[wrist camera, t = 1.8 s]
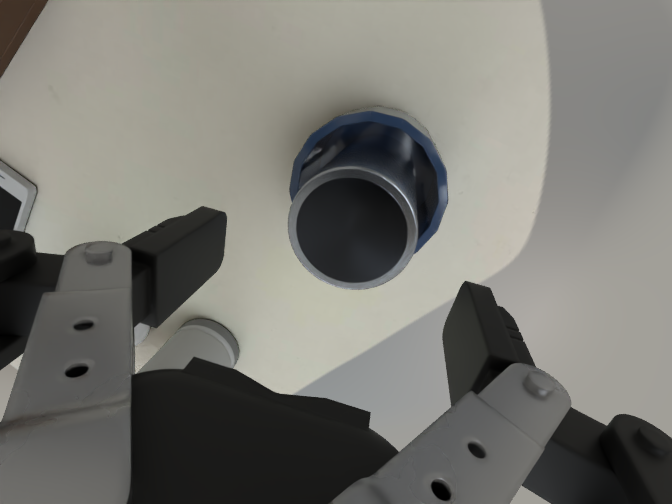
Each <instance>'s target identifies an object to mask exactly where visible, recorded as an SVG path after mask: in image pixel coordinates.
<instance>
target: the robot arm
mask: <svg viewBox="0 0 672 504" xmlns="http://www.w3.org/2000/svg"><path fill="white" fill-rule="evenodd" d="M226 225H227V216H226V213H225V212H222V211H218V210H215V209H211V208H208V207H204V206H202V207H200V208H198V209H196V210H194V211H193V212H191V213H189V214H187V215H185V216H184V215H183V216H179V217H174V218H170V219H167V220H165V221H163V222H162V223H160V224H158V225H157V226H154V227H152V228H150V229H148V231H145V232H143V233H141V234H139V235H137V236H135V237H133V238H132V239H130V240H128V241H126V242H124V243H122V244H119V243H116V242H108V241H95V242H88V243H83V244H79V245H77V246H74V247H72V248H71V249H69V250H68V251H67V252H66V254H65V255H57V254H47V253H38V252H36V249H35V243H34V238H33V237H32V236H31V235H30V234H28V233H25V232H22V231H17V230H0V370H1V369H3V368H4V367H5V366H7V365H8V364H9V363H11V362H12V361H13V360H15V359H16V358H17V357H19V356H20V355H21V354H23V353H24V354H23V357H22V360H21V363H20V366H19V369H18V373H17V376H16V379H15V382H14V385H13V388H12V391H11V394H10V398H9V401H8V404H7V407H6V410H5V413H4V416H3V419H2V421H1V422H0V504H510V502H511V500H512V499H513V497H514V496H515V494H516V493H517V491H518V490H519V488H520V486H521V485H522V486H524V487H525V488H527V489H528V490H530V491H532V492H533V493H535V494H536V495H538V496H540V497H541V498H543V499H545V500H546V501H548V502H549V503H551V504H672V438H670V437H669V436H668V435H667V434H665V433H664V432H663V431H661V430H660V429H658V428H656V427H655V426H654V425H652V424H650V423H648V422H646V421H644V420H642V419H640V418H637V417H635V416H631V415H627V414H619V415H616V416H615V417H614V418H613V419H612V421H611V422H610V423H609V424H608V425H607V426H606V425H604V424H602V423H600V422H598V421H596V420H594V419H592V418H590V417H588V416H587V415H585V414H582V413H581V412H578V411H577V410H575V409H573V408H572V407H571V399H570V396H569V394H568V393H567V391H566V390H565V388H564V387H563V386H562V385H561V384H560V383H559V382H558V381H557V380H556V379H554V378H553V377H552V376H550V375H549V374H547V373H546V372H544V371H542V370H541V369H539V368H536V366H535V364H534V362H533V359H532V357H531V355H530V353H529V351H528V348H527V346H526V344H525V342H523V337H522V335H521V333H520V332H519V329H518V327H517V324H516V322H515V320H514V318H513V317H512V316H511V315H510V314H509V313H508V312H507V311H506V310H505V309H504V308H503V307H500V306H497V304H496V301H495V298H494V296H493V293H492V291H491V289H490V288H489V287H485V286H482V285H478V284H475V283H471V282H468V281H465V282H464V283H463V284H462V286H461V288H460V290H459V292H458V294H457V297H456V299H455V301H454V303H453V306H452V308H451V311H450V313H449V315H448V317H447V320H446V322H445V325H444V329H443V347H444V354H445V362H446V369H447V377H448V384H449V393H450V400H451V408H450V409H449V410H447V411H446V412H445V413H444V414H443V415H441V416H440V417H439V418H438V419H437V420H436V421H435V422H433V423H432V424H431V425H430V426H429V427H428V428H427V429H425V430H424V431H423V432H422V433H421V434H420V435H418V436H417V437H416V438H415V439H414V440H413V441H412V442H410V443H409V444H408V445H407V446H406V447H405V448H403V449H402V450H401V451H400V452H398V451H397V450H396V448H395V447H393V446H392V445H391V444H390V443H389V442H388V441H387V440H386V439H384V438H383V437H382V436H380V435H379V434H378V433H376V432H375V431H373V430H371V429H370V428H369V421H370V412H368V411H365V410H361V409H358V408H355V407H352V406H349V405H346V404H343V403H339V402H336V401H333V400H330V399H327V398H318V397H307V396H298V395H287V394H279V393H275V392H273V391H271V390H270V389H268V388H266V387H264V386H263V385H261V384H259V383H258V382H256V381H254V380H253V379H251V378H249V377H247V376H246V375H244V374H242V373H241V372H239V371H237V370H235V369H232V368H229V367H226V366H223V365H219V364H216V363H213V362H210V361H207V360H204V359H200V358H197V357H193V358H192V359H191V361H190V362H189V363H188V364H187V365H186V367H185V368H184V369H158V370H151V371H145V372H141V373H137V374H135V334H134V327H136V326H137V325H138V324H139V323H142V324H145V325H148V326H151V327H155V328H157V327H158V326H159V325H161V324H162V323H163V322H164V321H165V320H166V319H167V318H168V317H169V316H170V315H171V314H172V313H173V312H174V311H175V310H176V309H178V308H179V307H180V306H181V305H182V304H183V303H184V302H185V301H186V300H187V299H188V298H189V297H190V296H191V295H192V294H193V293H195V292H196V291H197V290H198V289H199V288H200V287H201V286H202V285H203V284H204V283H205V282H206V281H207V280H208V279H209V278H210V277H212V276H213V275H214V274H215V273H216V272H217V271H218V269H219V268H220V266H221V263H222V261H223V257H224V248H225V236H226Z"/></svg>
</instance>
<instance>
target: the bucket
mask: <svg viewBox="0 0 672 504" xmlns="http://www.w3.org/2000/svg"><path fill="white" fill-rule="evenodd" d="M374 133H375V134H384V135H388V136H391V137H393V138H395V139H396V140H398V141H399V142H401V143H402V144H403V145H404V146H405V147H406V148H407V150H408V151H409V153H410V154H411V157H412V159H413V162H414V167H415V179H416V198H417V217H418V239H417V244H416V248H415V251H414V253H413V254H415V253H416V252H418V251H419V250H420V249H421V247H422V246H423V245H424V244H425V243H426V242H427V241H428V240H429V239H430V238H431V237H432V236H433V235H434V234H435V233H436V232H437V230H438V228H439V225H440V222H441V220H442V217H443V214H444V212H445V209H446V206H447V204H448V188H447V171H446V168H445V165H444V163H443V161H442V158H441V156H440V154H439V152H438V150H437V148H436V146H435V144H434V142H433V140H432V138H431V136H430V134H429V132H428V130H427V129H426V128H425V127H424V126H422V125H421V124H420V123H419V122H418V121H417V120H416V119H414V118H413V117H411V116H410V115H409V114H407V113H405V112H403V111H400V110H397V109H393V108H388V107H383V106H373V107H366V108H362V109H357V110H352V111H350V112H347V113H345V114H342V115H340V116H338V117H336V118H334V119H333V120H331V121H330V122H328V123H327V124H325V125H324V126H322V127H321V128H319V129H318V130H316V131H315V132H313V133H312V134H311V135H310V136H309V138H308V139H307V141H306V143H305V144H304V146H303V147H302V149H301V151H300V152H299V154H298V155H297V157H296V158H295V161H294V164H293V170H292V176H291V182H290V188H289V190H290V191H289V192H290V196H291V200H292V202H293V200H294V198H295V196H296V194H297V193H298V191H299V190H300V189H301V188H302V186H303V185H304V184H305V183H306V182H308V181H309V180H310V179H311V178H312V177H313V176H314V175H315V174H316V173H317V172H318V171H320V170H321V169H322V168H323V167H324V166H325V165H326V164H327V163H328V162H329V161H330V160H332V159H333V158H334V157H335V156H336V155H337V154H338V153H339V152H340V151H341V150H342V149H344V148H345V147H346V146H347V145H348V144H349V143H350V142H352V141H353V140H354V139H356V138H358V137H360V136H363V135H367V134H374Z"/></svg>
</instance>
